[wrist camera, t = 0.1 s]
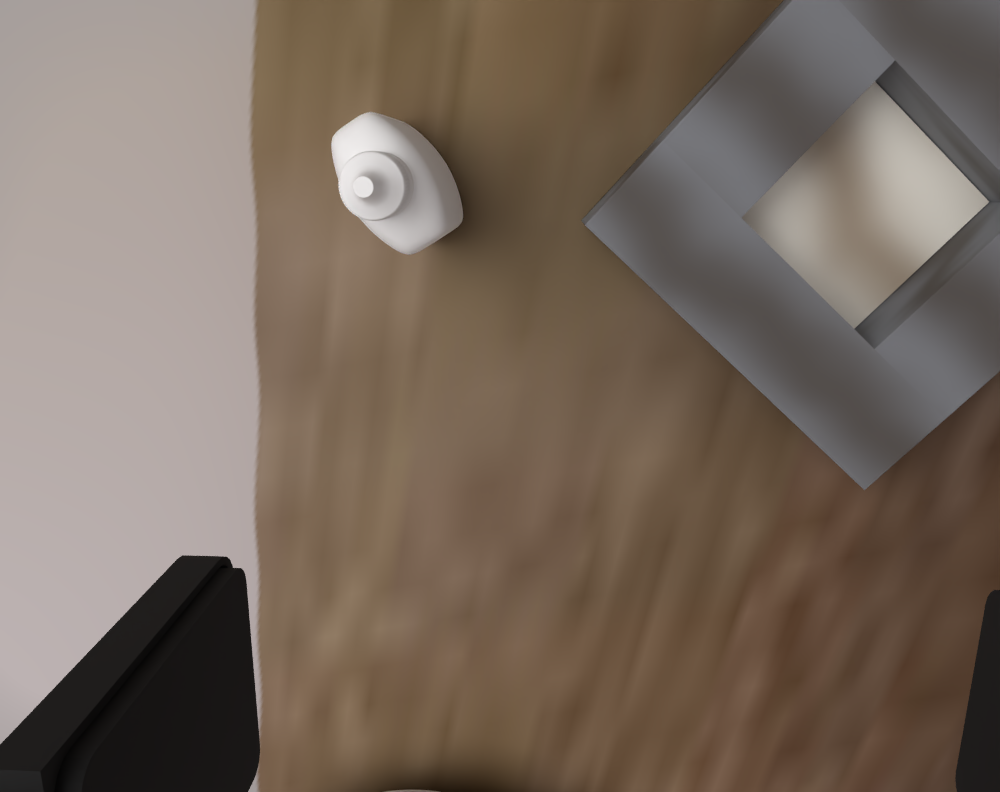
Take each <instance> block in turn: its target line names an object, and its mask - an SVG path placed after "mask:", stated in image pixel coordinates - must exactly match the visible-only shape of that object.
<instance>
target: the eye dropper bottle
mask: <svg viewBox="0 0 1000 792" xmlns="http://www.w3.org/2000/svg"><path fill="white" fill-rule="evenodd" d="M331 147H332V155H333V161H334V166H335V170H336V173H337V176H338V179H339V181H338V182H339V184H338V186H339V188H338V189H339V190H340V191H339V193H340V196H341V197H342V198H341V200H343V203H345V206H347V209H349V211H352V214H355V216H358V218H360V219H361V220H362V222H363V223H364V224H365V225H366V226H367V227H368V228H369V229H370V230H371V231H372V232H373V233H374V234H375V235H376V236H377V237H379V238H380V239H381V240H382V241H384V242H385V243H386V244H388V245H389V246H390V247H392V248H393V249H395V250H397V251H399V252H401V253H404V254H408V255H411V254H414V253H417V252H419V251H421V250H423V249H425V248H426V247H428V246H429V245H431V244H433V243H434V242H436V241H437V240H439V239H441V238H442V237H444V236H445V235H447V234H448V233H450V232H451V231H453V230H454V229H456V228H457V227H458V226H459V225H460V224H461V223H462V220H463V208H462V203H461V198H460V194H459V191H458V188H457V185H456V183H455V180H454V178H453V176H452V173H451V171H450V170H449V168H448V166H447V164H446V163H445V161H444V160H443V158H442V157H441V155H440V154H439V153H438V151H437V150H436V149H435V148H434V146H433V145H432V144H431V143H430V142H429V141H428V140H427V139H426V138H425V137H424V136H423V135H422V134H420V133H419V132H418V131H417V130H415V129H414V128H413V127H411V126H410V125H408V124H407V123H405V122H403V121H400V120H397V119H394V118H391V117H388V116H385V115H382V114H378V113H374V112H368V113H365V114H362V115H360V116H358V117H357V118H355V119H353V120H352V121H351V122H349V123H348V124H346V125H345V126H343V127H342V128H341V129H340V130H338V131H337V132H336V133H335V135H334V136H333V138H332V144H331Z"/></svg>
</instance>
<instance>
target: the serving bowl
mask: <svg viewBox="0 0 1000 792" xmlns="http://www.w3.org/2000/svg"><path fill="white" fill-rule="evenodd" d="M384 792H439V791H430V790H393V791H384Z"/></svg>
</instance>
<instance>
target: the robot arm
mask: <svg viewBox="0 0 1000 792" xmlns="http://www.w3.org/2000/svg"><path fill="white" fill-rule="evenodd" d="M259 756H260V741H259V729H258V717H257V705H256V693H255V681H254V669H253V657H252V646H251V633H250V621H249V608H248V597H247V584H246V577H245V573H244V571H243V570H242V569H241V568H233V566H232V564H231V561H230V559H228V557H218V556H181V557H180V558H178V559H177V560H176V561H175V562H174V563H173V564H172V565H171V566H170V567H169V568H168V569H167V571H166V572H165V573H164V574H163V575H162V576H161V577H160V578H159V579H158V580H157V581H156V582H155V583H154V584H153V585H152V586H151V587H150V588H149V589H148V590H147V591H146V593H145V594H144V595H143V596H142V597H141V598H140V599H139V600H138V601H137V602H136V603H135V604H134V605H133V606H132V607H131V608H130V609H129V610H128V611H127V613H125V615H124V616H123V617H122V618H121V619H120V620H119V621H118V622H117V623H116V624H115V625H114V626H113V627H112V628H111V629H110V630H109V631H108V632H107V633H106V634H105V636H104V637H103V638H102V639H101V640H100V641H99V642H98V643H97V644H96V645H95V646H94V647H93V648H92V649H91V650H90V651H89V652H88V653H87V654H86V656H84V658H83V659H82V660H81V661H80V662H79V663H78V664H77V665H76V666H75V667H74V668H73V669H72V670H71V671H70V672H69V673H68V674H67V675H66V676H65V677H64V678H63V680H62V681H61V682H60V683H59V684H58V685H57V686H56V687H55V688H54V689H53V690H52V691H51V692H50V693H49V694H48V695H47V696H46V697H45V699H44V700H42V701H41V703H40V704H39V705H38V706H37V707H36V708H35V709H34V710H33V711H32V712H31V713H30V714H29V715H28V716H27V717H26V718H25V719H24V720H23V721H22V722H21V724H20V725H19V726H18V727H17V728H16V729H15V730H14V731H13V732H12V733H11V734H10V735H9V736H8V737H7V738H6V739H5V740H4V741H3V742H2V743H1V744H0V792H248V790H249V789H250V786H251V784H252V782H253V780H254V778H255V775H256V772H257V768H258V763H259ZM956 788H957V792H1000V590H994V591H992V592H991V593H990V594H989V596H988V598H987V601H986V605H985V611H984V616H983V622H982V628H981V633H980V639H979V645H978V650H977V656H976V662H975V667H974V673H973V679H972V684H971V690H970V696H969V701H968V707H967V713H966V718H965V724H964V730H963V735H962V741H961V747H960V752H959V758H958V764H957V769H956Z"/></svg>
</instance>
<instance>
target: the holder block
mask: <svg viewBox="0 0 1000 792" xmlns="http://www.w3.org/2000/svg"><path fill="white" fill-rule="evenodd" d="M581 221H582V222H583V223H584V225H585V226H586V227H587V228H588V229H590V230H591V231H592V232H593V233H594V234H595V235H596V236H597V237H598V238H599V239H600V240H601V241H602V242H603V243H604V244H605V245H606V246H607V247H609V248H610V249H611V250H612V251H613V252H614V253H615V254H616V255H617V256H618V257H619V258H620V259H621V260H622V261H623V262H624V263H625V264H626V265H628V266H629V267H630V268H631V269H632V270H633V271H634V272H635V273H636V274H637V275H638V276H639V277H640V278H641V279H642V280H643V281H644V282H645V283H647V284H648V285H649V286H650V287H651V288H652V289H653V290H654V291H655V292H656V293H657V294H658V295H659V296H660V297H661V298H662V299H663V300H664V301H665V302H667V303H668V304H669V305H670V306H671V307H672V308H673V309H674V310H675V311H676V312H677V313H678V314H679V315H680V316H681V317H682V318H683V319H684V320H686V321H687V322H688V323H689V324H690V325H691V326H692V327H693V328H694V329H695V330H696V331H697V332H698V333H699V334H700V335H701V336H702V337H703V338H705V339H706V340H707V341H708V342H709V343H710V344H711V345H712V346H713V347H714V348H715V349H716V350H717V351H718V352H719V353H720V354H721V355H722V356H724V357H725V358H726V359H727V360H728V361H729V362H730V363H731V364H732V365H733V366H734V367H735V368H736V369H737V370H738V371H739V372H740V373H741V374H743V375H744V376H745V377H746V378H747V379H748V380H749V381H750V382H751V383H752V384H753V385H754V386H755V387H756V388H757V389H758V390H759V391H760V392H761V393H763V394H764V395H765V396H766V397H767V398H768V399H769V400H770V401H771V402H772V403H773V404H774V405H775V406H776V407H777V408H778V409H779V410H780V411H782V412H783V413H784V414H785V415H786V416H787V417H788V418H789V419H790V420H791V421H792V422H793V423H794V424H795V425H796V426H797V427H798V428H799V429H801V430H802V431H803V432H804V433H805V434H806V435H807V436H808V437H809V438H810V439H811V440H812V441H813V442H814V443H815V444H816V445H817V446H818V447H820V448H821V449H822V450H823V451H824V452H825V453H826V454H827V455H828V456H829V457H830V458H831V459H832V460H833V461H834V462H835V463H836V464H837V465H839V466H840V467H841V468H842V469H843V470H844V471H845V472H846V473H847V474H848V475H849V476H850V477H851V478H852V479H853V480H854V481H855V482H856V483H858V484H859V485H860V486H861V487H862V488H863V489H864V490H865V489H866V488H867V487H869V486H870V485H871V484H872V483H873V482H874V481H875V480H877V479H878V478H879V477H880V476H881V475H882V474H883V473H884V472H886V471H887V470H888V469H889V468H890V467H891V466H892V465H894V464H895V463H896V462H897V461H898V460H899V459H900V458H902V457H903V456H904V455H905V454H906V453H907V452H908V451H909V450H911V449H912V448H913V447H914V446H915V445H916V444H917V443H919V442H920V441H921V440H922V439H923V438H924V437H925V436H927V435H928V434H929V433H930V432H931V431H932V430H933V429H935V428H936V427H937V426H938V425H939V424H940V423H941V422H942V421H944V420H945V419H946V418H947V417H948V416H949V415H950V414H952V413H953V412H954V411H955V410H956V409H957V408H958V407H960V406H961V405H962V404H963V403H964V402H965V401H966V400H967V399H969V398H970V397H971V396H972V395H973V394H974V393H975V392H977V391H978V390H979V389H980V388H981V387H982V386H983V385H985V384H986V383H987V382H988V381H989V380H990V379H991V378H993V377H994V376H995V375H996V374H997V373H998V372H999V371H1000V0H784V1H783V2H782V3H781V4H780V5H779V6H778V7H777V8H776V9H775V10H774V11H773V13H772V14H771V15H770V16H769V17H768V18H767V19H766V20H765V21H764V22H763V23H762V25H761V26H760V27H759V28H758V29H757V30H756V31H755V32H754V33H753V34H752V35H751V36H750V38H749V39H748V40H747V41H746V42H745V43H744V44H743V45H742V46H741V47H740V48H739V50H738V51H737V52H736V53H735V54H734V55H733V56H732V57H731V58H730V59H729V60H728V61H727V63H726V64H725V65H724V66H723V67H722V68H721V69H720V70H719V71H718V72H717V73H716V75H715V76H714V77H713V78H712V79H711V80H710V81H709V82H708V83H707V84H706V85H705V87H704V88H703V89H702V90H701V91H700V92H699V93H698V94H697V95H696V96H695V97H694V98H693V100H692V101H691V102H690V103H689V104H688V105H687V106H686V107H685V108H684V109H683V110H682V112H681V113H680V114H679V115H678V116H677V117H676V118H675V119H674V120H673V121H672V122H671V123H670V125H669V126H668V127H667V128H666V129H665V130H664V131H663V132H662V133H661V134H660V135H659V137H658V138H657V139H656V140H655V141H654V142H653V143H652V144H651V145H650V146H649V147H648V148H647V150H646V151H645V152H644V153H643V154H642V155H641V156H640V157H639V158H638V159H637V160H636V162H635V163H634V164H633V165H632V166H631V167H630V168H629V169H628V170H627V171H626V172H625V173H624V175H623V176H622V177H621V178H620V179H619V180H618V181H617V182H616V183H615V184H614V185H613V187H612V188H611V189H610V190H609V191H608V192H607V193H606V194H605V195H604V196H603V197H602V199H601V200H600V201H599V202H598V203H597V204H596V205H595V206H594V207H593V208H592V209H591V210H590V212H589V213H588V214H587V215H586V216H585V217H584V218H583V219H582V220H581Z"/></svg>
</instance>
